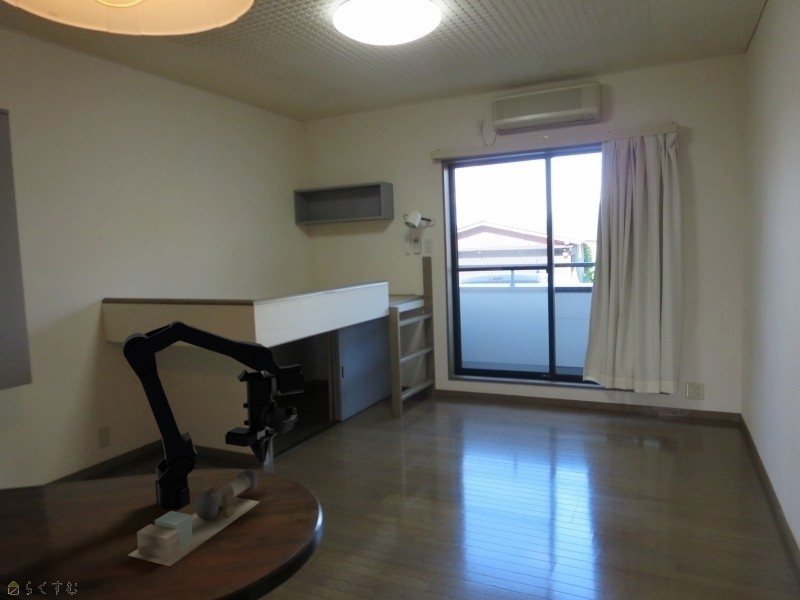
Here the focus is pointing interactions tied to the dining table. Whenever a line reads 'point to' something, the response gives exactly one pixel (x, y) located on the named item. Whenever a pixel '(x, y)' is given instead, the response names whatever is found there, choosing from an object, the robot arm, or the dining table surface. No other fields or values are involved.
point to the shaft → (210, 503)
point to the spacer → (177, 525)
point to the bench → (166, 543)
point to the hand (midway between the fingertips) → (261, 462)
